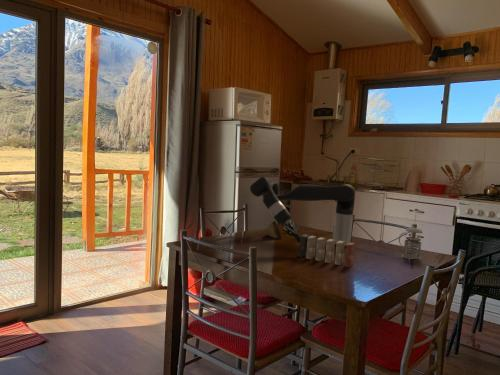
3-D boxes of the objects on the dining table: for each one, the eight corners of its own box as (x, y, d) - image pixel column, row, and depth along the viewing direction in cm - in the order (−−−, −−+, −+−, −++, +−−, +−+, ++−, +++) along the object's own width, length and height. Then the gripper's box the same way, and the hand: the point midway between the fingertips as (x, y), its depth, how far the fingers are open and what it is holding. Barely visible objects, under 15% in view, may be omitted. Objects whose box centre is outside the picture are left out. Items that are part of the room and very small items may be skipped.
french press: (423, 261, 196) (429, 210, 194) (398, 258, 198) (404, 208, 196) (419, 256, 206) (424, 208, 203) (395, 253, 208) (400, 206, 206)
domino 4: (324, 262, 183) (326, 240, 182) (328, 259, 187) (330, 238, 186) (329, 263, 181) (331, 241, 180) (333, 260, 186) (335, 239, 185)
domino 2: (306, 258, 187) (307, 237, 186) (309, 256, 191) (311, 235, 190) (310, 259, 186) (312, 238, 185) (314, 257, 190) (316, 236, 189)
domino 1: (297, 255, 189) (301, 235, 188) (301, 253, 194) (305, 234, 192) (301, 257, 188) (306, 237, 186) (305, 255, 192) (310, 235, 191)
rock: (262, 230, 233) (264, 231, 223) (271, 219, 234) (273, 220, 224) (276, 242, 233) (278, 244, 223) (285, 231, 234) (288, 232, 224)
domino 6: (344, 266, 178) (346, 244, 177) (347, 263, 182) (349, 242, 181) (350, 267, 177) (352, 245, 176) (353, 264, 181) (355, 243, 180)
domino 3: (315, 260, 185) (317, 239, 184) (319, 258, 189) (320, 237, 188) (320, 261, 184) (322, 239, 183) (323, 258, 188) (325, 238, 187)
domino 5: (334, 264, 180) (336, 242, 179) (337, 261, 185) (339, 240, 184) (339, 265, 179) (341, 243, 178) (343, 262, 183) (345, 241, 183)
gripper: (280, 215, 202) (300, 243, 198) (268, 218, 191) (289, 248, 186) (290, 206, 199) (311, 234, 195) (279, 209, 188) (301, 239, 183)
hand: (300, 241), depth 190 cm, fingers closed
